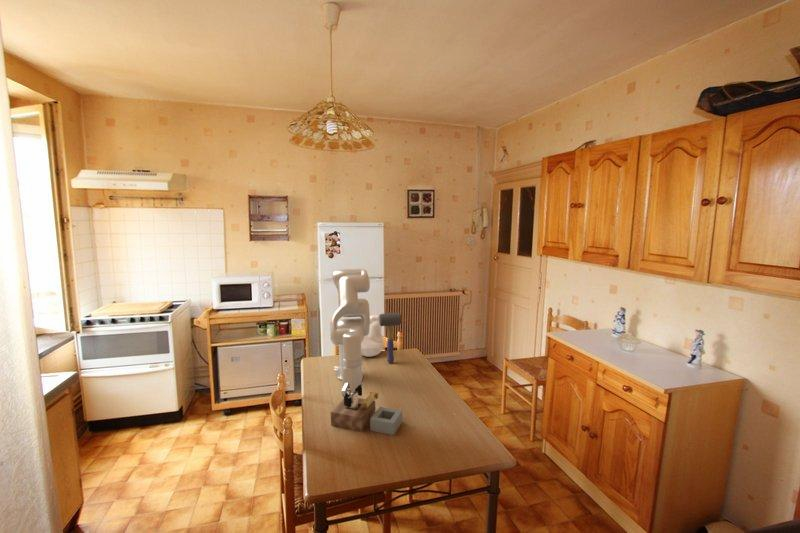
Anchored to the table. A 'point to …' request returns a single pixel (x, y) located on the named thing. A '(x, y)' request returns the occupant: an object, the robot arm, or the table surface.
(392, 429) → the grey square ring block
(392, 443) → the table surface
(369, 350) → the decorative rooster
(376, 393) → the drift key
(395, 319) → the rubber mallet
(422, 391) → the table surface
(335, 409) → the socket block
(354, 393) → the steel peg
